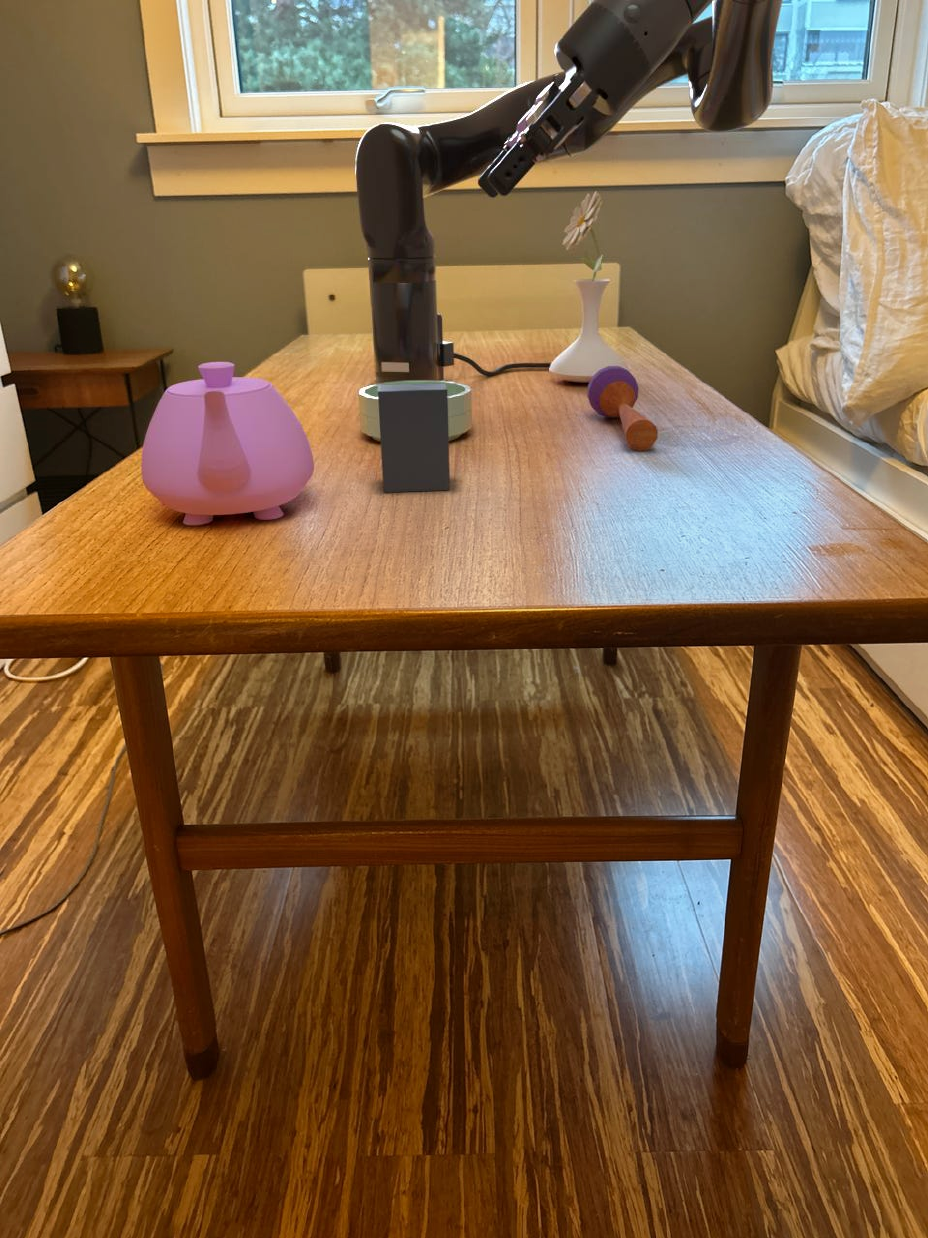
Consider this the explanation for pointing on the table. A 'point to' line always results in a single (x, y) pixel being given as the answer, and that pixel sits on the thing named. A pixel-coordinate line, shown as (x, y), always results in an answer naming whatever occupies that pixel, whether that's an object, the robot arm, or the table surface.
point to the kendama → (621, 405)
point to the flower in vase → (586, 307)
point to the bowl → (456, 391)
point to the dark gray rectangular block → (414, 437)
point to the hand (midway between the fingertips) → (489, 189)
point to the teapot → (225, 448)
